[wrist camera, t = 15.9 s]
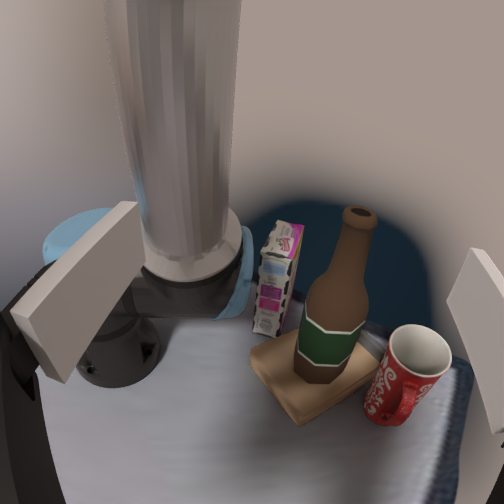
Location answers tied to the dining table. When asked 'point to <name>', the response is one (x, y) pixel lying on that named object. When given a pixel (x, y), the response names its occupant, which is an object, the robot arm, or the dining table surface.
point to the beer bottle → (336, 303)
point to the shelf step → (302, 393)
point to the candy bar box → (276, 277)
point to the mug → (406, 373)
